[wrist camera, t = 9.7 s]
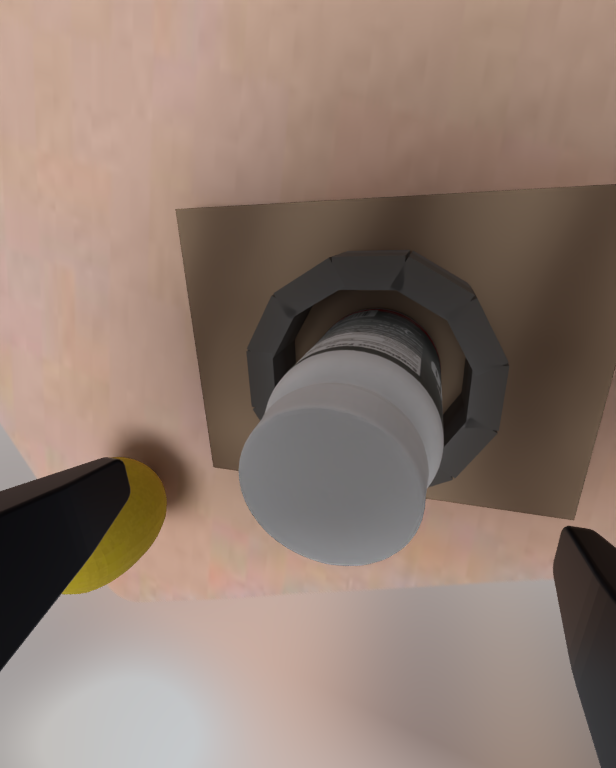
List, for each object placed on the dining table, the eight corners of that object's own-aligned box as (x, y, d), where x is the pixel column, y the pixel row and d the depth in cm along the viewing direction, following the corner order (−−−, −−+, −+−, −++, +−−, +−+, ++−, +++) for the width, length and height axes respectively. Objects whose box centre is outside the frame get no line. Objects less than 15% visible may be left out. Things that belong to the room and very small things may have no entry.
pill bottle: (417, 434, 16) (403, 615, 9) (309, 399, 17) (212, 537, 10) (459, 325, 14) (488, 440, 7) (334, 290, 15) (237, 360, 8)
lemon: (113, 418, 22) (-34, 509, 15) (199, 453, 22) (84, 567, 15) (111, 490, 25) (-18, 598, 18) (188, 525, 24) (85, 652, 17)
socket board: (644, 184, 12) (721, 171, 9) (564, 501, 17) (597, 569, 13) (191, 209, 17) (132, 207, 13) (224, 454, 21) (186, 497, 18)
